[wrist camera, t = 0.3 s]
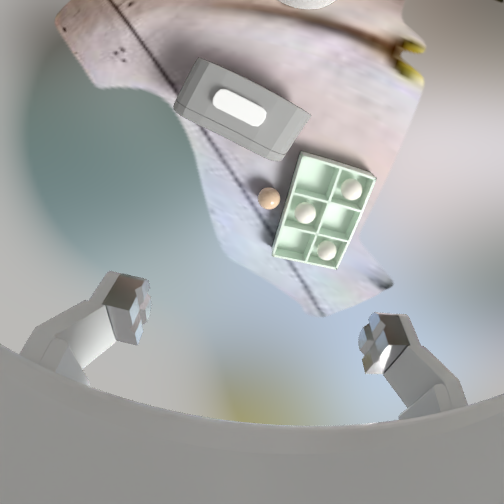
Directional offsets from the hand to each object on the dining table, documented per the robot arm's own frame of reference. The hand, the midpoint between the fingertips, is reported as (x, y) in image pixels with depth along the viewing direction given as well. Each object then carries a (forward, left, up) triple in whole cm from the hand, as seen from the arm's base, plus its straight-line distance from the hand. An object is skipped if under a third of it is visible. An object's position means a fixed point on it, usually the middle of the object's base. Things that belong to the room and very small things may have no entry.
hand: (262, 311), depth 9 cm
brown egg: (+15, +4, -46) cm, 49 cm away
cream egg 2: (+23, +19, -46) cm, 55 cm away
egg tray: (+16, +15, -46) cm, 51 cm away
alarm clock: (-2, -5, -47) cm, 47 cm away
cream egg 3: (+8, +19, -46) cm, 50 cm away
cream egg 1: (+16, +12, -46) cm, 50 cm away
